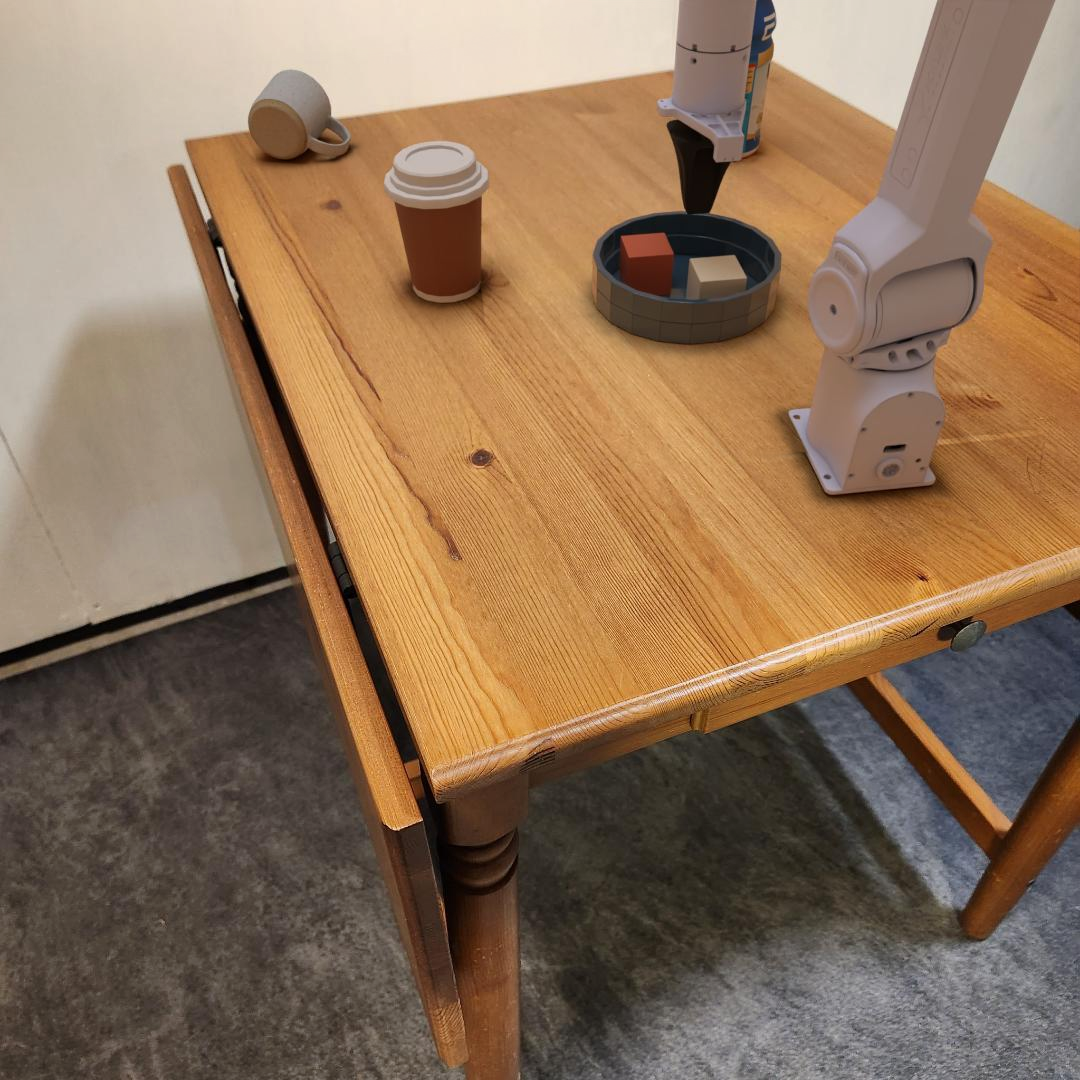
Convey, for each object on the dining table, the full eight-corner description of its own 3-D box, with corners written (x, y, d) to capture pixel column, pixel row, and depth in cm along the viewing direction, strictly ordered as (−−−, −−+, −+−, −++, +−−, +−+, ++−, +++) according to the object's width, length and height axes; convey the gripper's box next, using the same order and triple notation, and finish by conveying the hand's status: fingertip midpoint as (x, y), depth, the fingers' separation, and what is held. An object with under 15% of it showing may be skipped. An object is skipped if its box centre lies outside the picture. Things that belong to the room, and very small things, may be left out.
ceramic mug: (251, 161, 109) (235, 92, 103) (277, 133, 114) (263, 66, 109) (339, 167, 107) (328, 98, 102) (361, 138, 113) (351, 71, 108)
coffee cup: (459, 320, 84) (447, 189, 75) (378, 294, 87) (357, 166, 79) (514, 274, 89) (508, 147, 81) (436, 252, 93) (422, 128, 84)
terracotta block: (670, 294, 85) (674, 253, 82) (626, 298, 85) (628, 257, 82) (661, 272, 88) (664, 232, 85) (619, 276, 87) (620, 235, 85)
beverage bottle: (671, 142, 110) (686, -56, 96) (730, 127, 113) (753, -68, 99) (714, 168, 105) (736, -37, 91) (775, 152, 107) (806, -50, 93)
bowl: (797, 341, 80) (806, 293, 77) (609, 357, 79) (610, 310, 76) (745, 249, 92) (751, 205, 88) (580, 262, 90) (581, 218, 87)
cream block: (741, 319, 82) (747, 277, 79) (695, 323, 81) (700, 281, 79) (729, 295, 84) (734, 254, 82) (685, 299, 84) (689, 258, 81)
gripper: (643, 15, 77) (635, 178, 87) (684, 78, 67) (670, 254, 77) (727, 10, 78) (710, 172, 87) (780, 71, 67) (754, 247, 77)
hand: (697, 210), depth 82 cm, fingers closed
